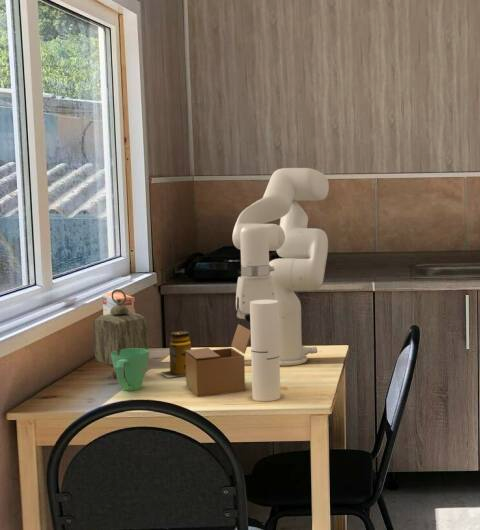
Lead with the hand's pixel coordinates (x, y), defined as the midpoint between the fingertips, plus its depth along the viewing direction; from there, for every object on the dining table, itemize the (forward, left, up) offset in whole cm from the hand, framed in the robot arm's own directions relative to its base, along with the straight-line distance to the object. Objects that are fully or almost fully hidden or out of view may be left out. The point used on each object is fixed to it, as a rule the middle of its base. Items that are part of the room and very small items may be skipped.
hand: (256, 338), depth 242 cm
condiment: (+17, -22, -13) cm, 31 cm away
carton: (+12, 0, -13) cm, 17 cm away
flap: (+4, 0, 0) cm, 4 cm away
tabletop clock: (+32, -27, -13) cm, 44 cm away
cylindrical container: (+3, +15, -13) cm, 20 cm away
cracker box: (+29, -45, -13) cm, 55 cm away
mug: (+33, -9, -13) cm, 36 cm away
